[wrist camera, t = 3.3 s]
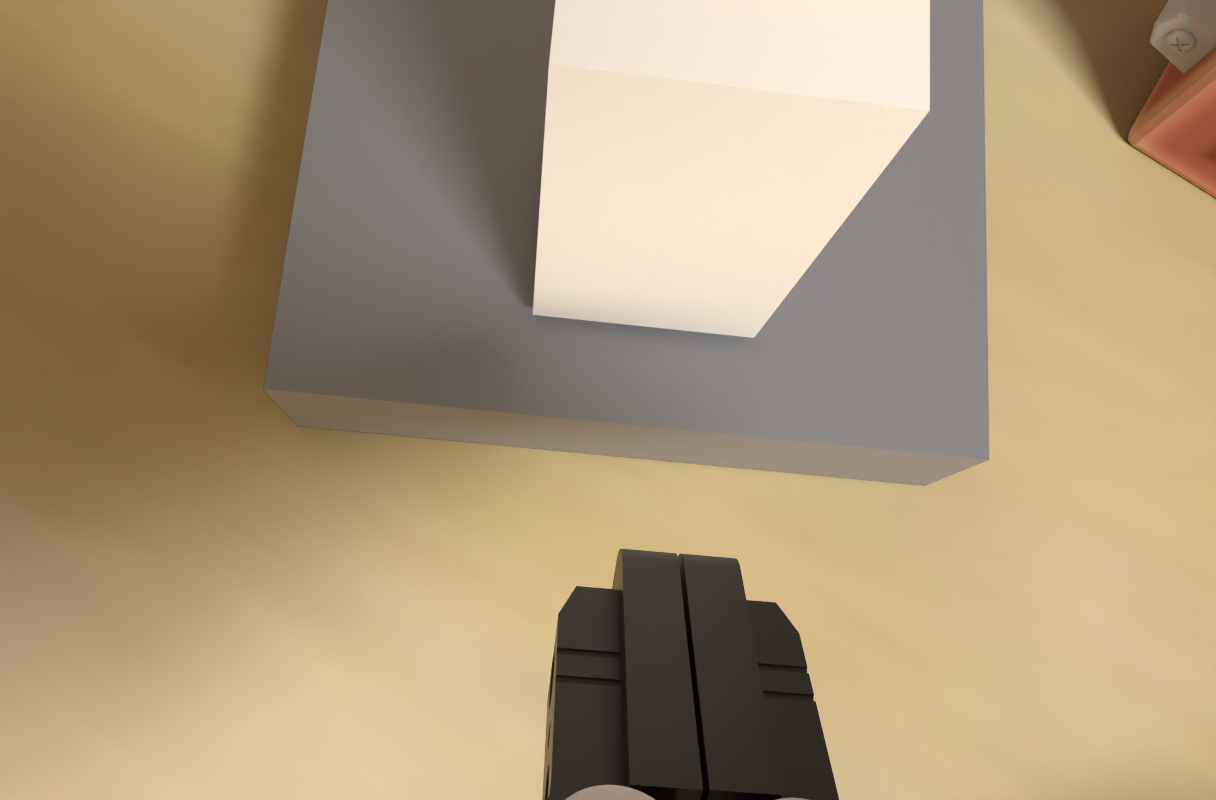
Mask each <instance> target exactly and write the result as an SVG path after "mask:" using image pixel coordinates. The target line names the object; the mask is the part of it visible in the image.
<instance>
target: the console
mask: <svg viewBox="0 0 1216 800" xmlns="http://www.w3.org/2000/svg"><path fill="white" fill-rule="evenodd" d="M555 1H556V0H328V3H327V9H326V15H325V21H324V27H323V33H322V38H321V44H320V50H319V56H318V62H317V68H316V74H315V80H314V86H313V92H312V98H311V104H310V110H309V116H308V122H307V128H306V134H305V140H304V146H303V152H302V158H301V164H300V170H299V176H298V182H297V188H296V194H295V200H294V206H293V212H292V218H291V224H290V230H289V236H288V242H287V248H286V254H285V260H284V266H283V272H282V278H281V284H280V289H279V295H278V301H277V307H276V313H275V319H274V325H273V331H272V337H271V343H270V349H269V355H268V361H267V367H266V373H265V379H264V385H263V390H264V391H265V392H266V393H267V394H268V395H269V396H270V397H271V398H272V399H273V400H274V401H275V402H276V403H277V405H278V406H279V407H280V408H281V409H282V410H283V411H284V412H285V413H286V414H287V415H288V416H289V417H290V418H291V419H292V421H293V422H294V423H295V424H296V425H297V426H302V427H313V428H323V429H334V430H344V431H355V432H365V433H376V434H386V435H397V436H407V437H418V438H428V439H439V440H449V441H460V442H470V443H481V444H491V445H502V446H512V447H523V448H534V449H544V450H555V451H565V452H576V453H586V454H597V455H607V456H618V457H628V458H639V459H649V460H660V461H670V462H681V463H691V464H702V465H712V466H723V467H733V468H744V469H754V470H765V471H775V472H786V473H796V474H807V475H817V476H828V477H838V478H849V479H859V480H870V481H880V482H891V483H901V484H912V485H922V486H925V485H928V484H930V483H933V482H935V481H938V480H940V479H943V478H945V477H948V476H950V475H952V474H955V473H957V472H960V471H962V470H965V469H967V468H970V467H972V466H975V465H977V464H980V463H982V462H985V461H987V460H989V408H988V336H987V263H986V190H985V117H984V45H983V0H930V111H929V112H928V113H927V115H926V116H925V117H924V119H923V120H922V121H921V122H920V124H919V125H918V126H917V128H916V129H915V130H914V132H913V133H912V134H911V135H910V137H909V138H908V139H907V141H906V142H905V143H904V144H903V146H902V147H901V148H900V150H899V151H898V152H897V154H896V155H895V156H894V157H893V159H892V160H891V161H890V163H889V164H888V165H887V166H886V168H885V169H884V170H883V172H882V173H881V174H880V176H879V177H878V178H877V179H876V181H875V182H874V183H873V185H872V186H871V187H870V188H869V190H868V191H867V192H866V194H865V195H864V196H863V198H862V199H861V200H860V201H859V203H858V204H857V205H856V207H855V208H854V209H853V210H852V212H851V213H850V214H849V216H848V217H847V218H846V220H845V221H844V222H843V223H842V225H841V226H840V227H839V229H838V230H837V231H836V232H835V234H834V235H833V236H832V238H831V239H830V240H829V242H828V243H827V244H826V245H825V247H824V248H823V249H822V251H821V252H820V253H819V254H818V256H817V257H816V258H815V260H814V261H813V262H812V264H811V265H810V266H809V267H808V269H807V270H806V271H805V273H804V274H803V275H802V276H801V278H800V279H799V280H798V282H797V283H796V284H795V286H794V287H793V288H792V289H791V291H790V292H789V293H788V295H787V296H786V297H785V298H784V300H783V301H782V302H781V304H780V305H779V306H778V308H777V309H776V310H775V311H774V313H773V314H772V315H771V317H770V318H769V319H768V320H767V322H766V323H765V324H764V326H763V327H762V328H761V330H760V331H759V332H758V333H757V335H756V336H755V337H754V338H750V337H741V336H731V335H722V334H712V333H702V332H693V331H683V330H674V329H664V328H655V327H645V326H635V325H626V324H616V323H607V322H597V321H587V320H578V319H568V318H559V317H549V316H539V315H533V300H534V285H535V270H536V254H537V239H538V224H539V208H540V193H541V178H542V162H543V147H544V132H545V116H546V101H547V86H548V70H549V58H550V49H551V39H552V30H553V20H554V10H555Z"/></svg>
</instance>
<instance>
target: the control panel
mask: <svg viewBox="0 0 1216 800" xmlns="http://www.w3.org/2000/svg"><path fill="white" fill-rule="evenodd" d="M1149 41H1150V44H1151V45H1152V46H1153V47H1155V48H1156V49H1157V50H1158V51H1159V52H1160V53H1161V54H1162V55H1163V56H1165V57H1166V58H1167V59H1168V60H1169V63H1168V65H1167V66H1166V68H1165V70H1164V72H1163V73H1162V75H1161V77H1160V79H1159V80H1158V82H1157V84H1156V86H1155V87H1154V89H1153V91H1152V92H1151V94H1150V96H1149V98H1148V99H1147V101H1146V103H1145V105H1144V106H1143V108H1142V110H1141V112H1140V113H1139V115H1138V117H1137V119H1136V120H1135V122H1134V124H1133V126H1132V127H1131V129H1130V132H1129V135H1128V141H1129V142H1130V144H1131V145H1132V146H1133V147H1135V148H1137V149H1138V150H1140V151H1141V152H1143V153H1145V154H1146V155H1148V156H1149V157H1151V158H1153V159H1154V160H1156V161H1157V162H1159V163H1161V164H1162V165H1164V166H1165V167H1167V168H1169V169H1170V170H1172V171H1173V172H1175V173H1177V174H1178V175H1180V176H1181V177H1183V178H1185V179H1186V180H1188V181H1189V182H1191V183H1193V184H1194V185H1196V186H1197V187H1199V188H1201V189H1202V190H1204V191H1205V192H1207V193H1209V194H1210V195H1212V196H1213V197H1215V198H1216V0H1168V2H1167V3H1166V5H1165V7H1164V8H1163V10H1162V12H1161V14H1160V15H1159V17H1158V19H1157V20H1156V22H1155V24H1154V27H1153V30H1152V34H1151V37H1150V40H1149Z"/></svg>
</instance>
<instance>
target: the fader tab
mask: <svg viewBox="0 0 1216 800" xmlns="http://www.w3.org/2000/svg"><path fill="white" fill-rule="evenodd" d="M929 111H930V0H556V1H555V10H554V20H553V30H552V39H551V49H550V58H549V70H548V86H547V101H546V116H545V132H544V147H543V162H542V178H541V193H540V208H539V224H538V239H537V254H536V270H535V285H534V300H533V315H539V316H549V317H559V318H568V319H578V320H587V321H597V322H607V323H616V324H626V325H635V326H645V327H655V328H664V329H674V330H683V331H693V332H702V333H712V334H722V335H731V336H741V337H750V338H754V337H755V336H756V335H757V333H758V332H759V331H760V330H761V328H762V327H763V326H764V324H765V323H766V322H767V320H768V319H769V318H770V317H771V315H772V314H773V313H774V311H775V310H776V309H777V308H778V306H779V305H780V304H781V302H782V301H783V300H784V298H785V297H786V296H787V295H788V293H789V292H790V291H791V289H792V288H793V287H794V286H795V284H796V283H797V282H798V280H799V279H800V278H801V276H802V275H803V274H804V273H805V271H806V270H807V269H808V267H809V266H810V265H811V264H812V262H813V261H814V260H815V258H816V257H817V256H818V254H819V253H820V252H821V251H822V249H823V248H824V247H825V245H826V244H827V243H828V242H829V240H830V239H831V238H832V236H833V235H834V234H835V232H836V231H837V230H838V229H839V227H840V226H841V225H842V223H843V222H844V221H845V220H846V218H847V217H848V216H849V214H850V213H851V212H852V210H853V209H854V208H855V207H856V205H857V204H858V203H859V201H860V200H861V199H862V198H863V196H864V195H865V194H866V192H867V191H868V190H869V188H870V187H871V186H872V185H873V183H874V182H875V181H876V179H877V178H878V177H879V176H880V174H881V173H882V172H883V170H884V169H885V168H886V166H887V165H888V164H889V163H890V161H891V160H892V159H893V157H894V156H895V155H896V154H897V152H898V151H899V150H900V148H901V147H902V146H903V144H904V143H905V142H906V141H907V139H908V138H909V137H910V135H911V134H912V133H913V132H914V130H915V129H916V128H917V126H918V125H919V124H920V122H921V121H922V120H923V119H924V117H925V116H926V115H927V113H928V112H929Z"/></svg>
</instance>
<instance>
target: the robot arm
mask: <svg viewBox="0 0 1216 800" xmlns="http://www.w3.org/2000/svg"><path fill="white" fill-rule="evenodd" d="M813 696H814V693H813V689H812V685H811V681H810V677H809V674H807V664H806V660H805V656H804V652H803V647H802V643H801V639H800V635H799V633H798V631H797V630H796V629H795V627H794V626H793V625H792V623H791V622H790V621H789V619H788V618H787V617H786V615H785V614H784V613H783V611H782V610H781V609H780V607H779V606H778V605H777V604H776V603H774V602H762V601H750V600H746V597H745V591H744V586H743V580H742V575H741V569H740V565H739V562H738V560H737V559H735V558H724V557H712V556H701V555H689V554H679V556H677V554H675V553H663V552H652V551H640V550H629V549H620V550H619V552H618V556H617V562H616V568H615V574H614V580H613V587H612V589H604V588H592V587H580V586H576V588H575V589H574V591H573V592H572V594H571V595H570V597H569V599H568V600H567V602H566V603H565V605H564V606H563V608H562V609H561V611H560V612H559V614H558V622H557V630H556V638H555V646H554V654H553V662H552V670H551V678H550V685H549V693H548V704H547V723H546V742H545V762H544V763H545V765H544V781H543V800H839V797H838V793H837V789H836V785H835V781H834V777H833V772H832V768H831V764H830V760H829V756H828V752H827V747H826V743H825V739H824V735H823V731H822V727H821V722H820V718H819V714H818V710H817V706H816V702H815V701H813Z"/></svg>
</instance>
